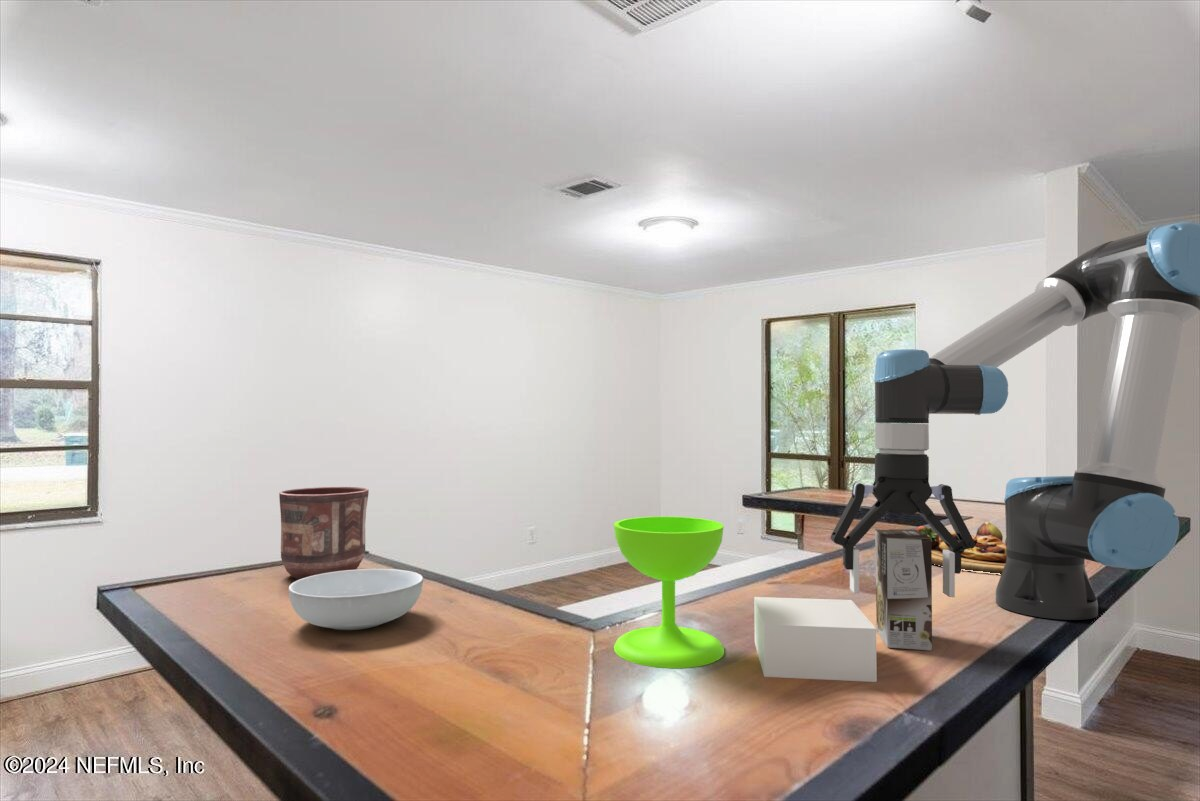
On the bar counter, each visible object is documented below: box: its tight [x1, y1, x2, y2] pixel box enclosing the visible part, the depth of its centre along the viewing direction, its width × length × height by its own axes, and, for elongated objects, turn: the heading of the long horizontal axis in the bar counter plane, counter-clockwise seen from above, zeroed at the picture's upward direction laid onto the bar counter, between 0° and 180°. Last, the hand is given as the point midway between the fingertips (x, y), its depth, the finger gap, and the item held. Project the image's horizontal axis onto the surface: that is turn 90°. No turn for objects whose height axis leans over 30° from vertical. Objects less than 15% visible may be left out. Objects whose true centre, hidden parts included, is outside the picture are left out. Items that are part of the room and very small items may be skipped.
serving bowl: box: [288, 568, 424, 631], centre depth 115 cm, size 21×21×7 cm
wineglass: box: [613, 515, 725, 669], centre depth 102 cm, size 16×16×18 cm
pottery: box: [278, 486, 370, 581], centre depth 150 cm, size 18×18×18 cm
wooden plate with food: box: [915, 521, 1006, 574], centre depth 164 cm, size 32×32×8 cm
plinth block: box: [753, 596, 878, 683], centre depth 97 cm, size 14×14×7 cm
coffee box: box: [874, 528, 933, 652], centre depth 106 cm, size 9×6×16 cm
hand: (901, 593), depth 106 cm, fingers open, 13 cm apart
